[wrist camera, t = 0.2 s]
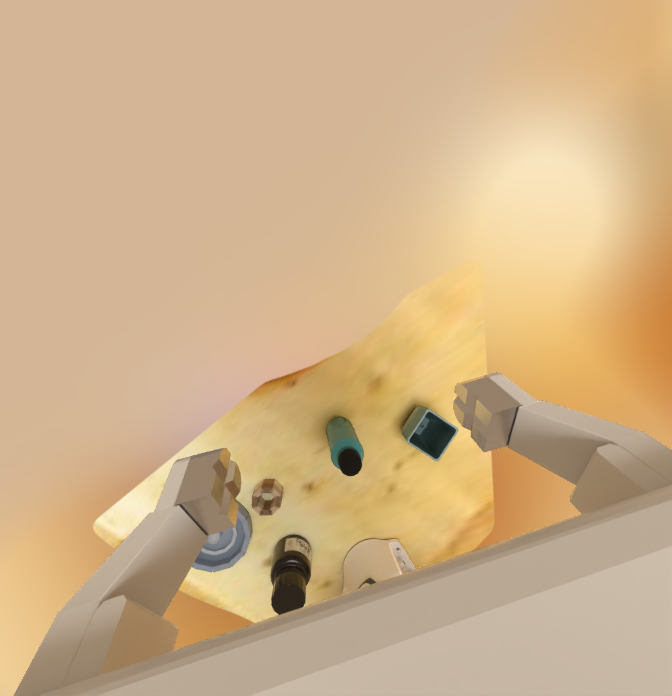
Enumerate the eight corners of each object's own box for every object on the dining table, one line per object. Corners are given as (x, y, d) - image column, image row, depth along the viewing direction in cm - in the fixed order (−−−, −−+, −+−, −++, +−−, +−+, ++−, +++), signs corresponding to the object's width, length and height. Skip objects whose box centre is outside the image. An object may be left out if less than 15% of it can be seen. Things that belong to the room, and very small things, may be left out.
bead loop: (287, 492, 63) (286, 501, 60) (268, 510, 63) (265, 520, 59) (269, 474, 63) (267, 482, 59) (249, 492, 62) (246, 501, 59)
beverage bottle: (322, 437, 63) (327, 482, 44) (328, 411, 63) (336, 444, 44) (348, 442, 64) (364, 488, 44) (354, 416, 64) (373, 451, 44)
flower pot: (421, 446, 66) (438, 463, 57) (393, 428, 65) (406, 442, 56) (439, 417, 66) (459, 429, 57) (412, 398, 65) (428, 408, 56)
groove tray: (266, 528, 63) (263, 537, 60) (216, 575, 62) (211, 586, 59) (219, 482, 62) (215, 489, 59) (167, 530, 61) (160, 539, 58)
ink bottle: (319, 553, 64) (321, 601, 52) (292, 577, 64) (287, 632, 52) (293, 525, 64) (289, 568, 52) (265, 550, 63) (255, 599, 51)
